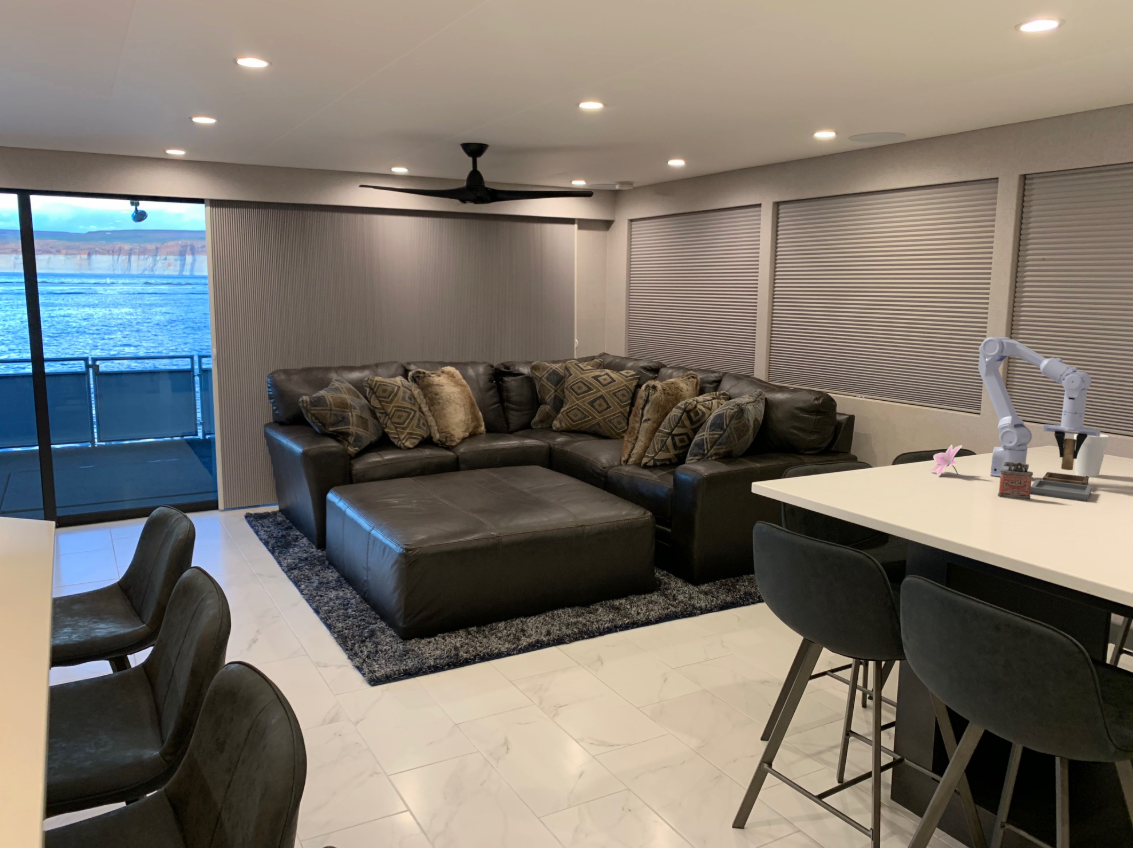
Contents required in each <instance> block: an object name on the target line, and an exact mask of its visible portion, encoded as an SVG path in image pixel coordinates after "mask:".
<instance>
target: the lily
mask: <svg viewBox="0 0 1133 848" xmlns="http://www.w3.org/2000/svg"><path fill="white" fill-rule="evenodd" d="M962 447H963V445H962V444H959V445H958V446H955V447H954V448H953V444H951V445H950V446H949V447H948V448H947V449H946V451H945V452H939V453H935V454H933V459H934V462H935V463H936V464H935V465H934V467H933V468H932V469H931V470H930V474H932V473H933V472H935V471H936V476H937V477H938V478H939V477H940V476H941V474H942V473H943V471H944V470H945V468H947V467H949V466H951V467H952V468H953V469H954V471H955V473H956V475H957V476H958V475H959V473H958V470H957V469H956V467H955V466H956V465H957V464H958V463H957V459H956V458H955V456H956V454H957V453H958V451H959V450H960V449H961V448H962Z"/></svg>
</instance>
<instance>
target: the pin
mask: <svg viewBox="0 0 1133 848" xmlns="http://www.w3.org/2000/svg"><path fill="white" fill-rule="evenodd" d="M1075 446H1076V439H1074V438H1068V437H1067V438H1065V439H1064V448H1063V457H1061V467H1060V469H1061V470H1065V471H1073V470H1074V464H1075V459H1074V453H1075Z"/></svg>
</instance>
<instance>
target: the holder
mask: <svg viewBox="0 0 1133 848" xmlns="http://www.w3.org/2000/svg"><path fill="white" fill-rule="evenodd" d="M1089 479H1090V477H1086V476H1080V475H1076V474H1075V475H1074V474H1067V473H1060V472H1051V471H1047V472H1046V473H1045V474H1044V476H1043V477H1042V480H1046V481H1054V482H1062V483H1070V484H1078V485H1086V486H1089Z"/></svg>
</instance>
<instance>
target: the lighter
mask: <svg viewBox="0 0 1133 848" xmlns="http://www.w3.org/2000/svg"><path fill="white" fill-rule="evenodd" d="M1004 466H1007V467H1009V468H1008V469H1001V470H1000V473H1001V477H1000V476H999V477H1000V479H999V489H998V492H997V497H999V498H1005V499H1006V498H1007V499H1014V500H1026V501H1027V500H1028V501H1029V500H1031V494H1030V489H1031V486H1032V479H1033V475H1034V472H1033V471H1029V467H1030V464H1029V463H1026V464H1022V463H1021V462H1016V463H1014V462H1004ZM1011 467H1014V468H1013V470H1012V468H1011ZM1023 468H1024V470H1025V471H1024V470H1023Z"/></svg>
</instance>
